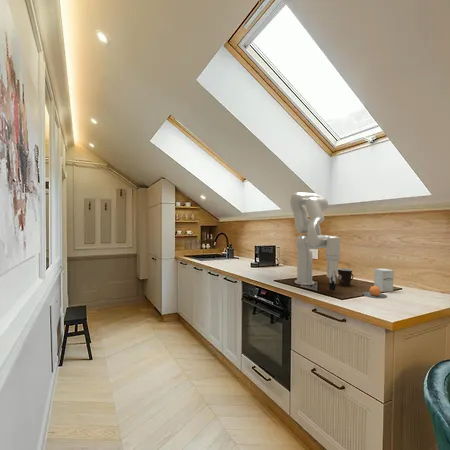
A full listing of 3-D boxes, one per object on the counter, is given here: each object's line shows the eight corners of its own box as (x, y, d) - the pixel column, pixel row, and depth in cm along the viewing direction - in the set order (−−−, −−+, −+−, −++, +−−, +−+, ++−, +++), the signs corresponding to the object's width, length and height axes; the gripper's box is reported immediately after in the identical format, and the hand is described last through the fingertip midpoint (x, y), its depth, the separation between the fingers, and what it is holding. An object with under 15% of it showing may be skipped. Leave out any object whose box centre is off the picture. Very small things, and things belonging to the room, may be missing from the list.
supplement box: (382, 292, 170) (382, 270, 170) (373, 289, 178) (374, 268, 177) (393, 291, 171) (394, 270, 171) (384, 288, 179) (385, 268, 179)
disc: (358, 291, 170) (358, 291, 170) (382, 293, 168) (382, 292, 168) (364, 297, 158) (364, 296, 158) (390, 298, 155) (390, 298, 155)
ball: (376, 283, 163) (381, 292, 162) (366, 287, 165) (372, 296, 164) (377, 285, 158) (383, 294, 157) (368, 289, 159) (373, 298, 159)
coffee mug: (336, 283, 193) (336, 268, 193) (350, 284, 191) (350, 268, 191) (339, 287, 182) (339, 271, 181) (354, 288, 180) (354, 271, 180)
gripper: (324, 256, 175) (323, 286, 175) (327, 259, 160) (327, 292, 161) (337, 256, 173) (336, 287, 174) (342, 259, 159) (341, 293, 159)
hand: (332, 289), depth 167 cm, fingers closed
